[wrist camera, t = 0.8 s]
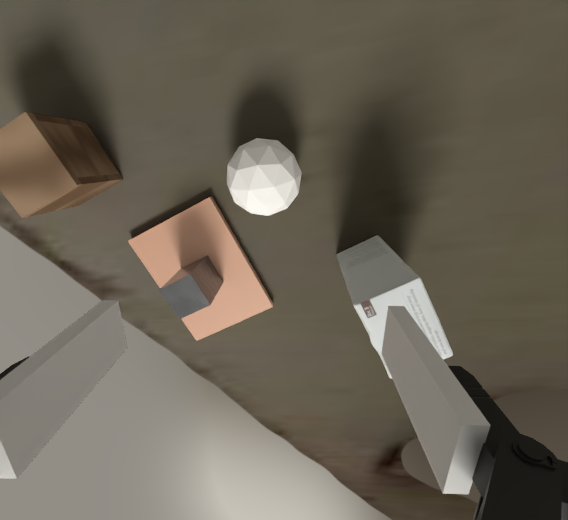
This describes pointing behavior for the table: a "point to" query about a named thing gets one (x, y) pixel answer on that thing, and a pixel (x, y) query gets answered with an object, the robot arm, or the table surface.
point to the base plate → (193, 246)
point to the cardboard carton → (51, 164)
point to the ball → (263, 176)
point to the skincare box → (388, 292)
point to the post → (192, 287)
